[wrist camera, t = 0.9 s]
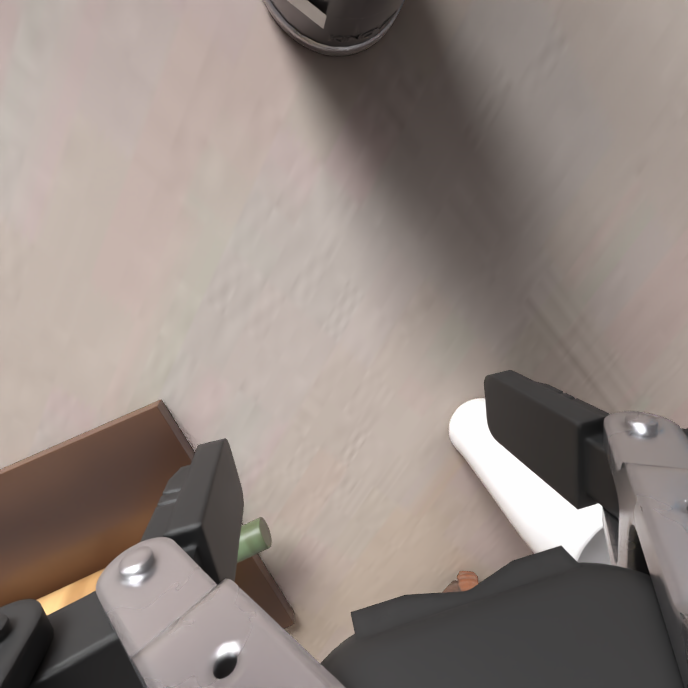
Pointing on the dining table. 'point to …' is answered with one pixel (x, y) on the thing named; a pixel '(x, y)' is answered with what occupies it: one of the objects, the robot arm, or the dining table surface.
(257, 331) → the dining table surface
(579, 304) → the dining table surface
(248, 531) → the rolling pin
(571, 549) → the drinking glass
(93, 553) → the pastry board
